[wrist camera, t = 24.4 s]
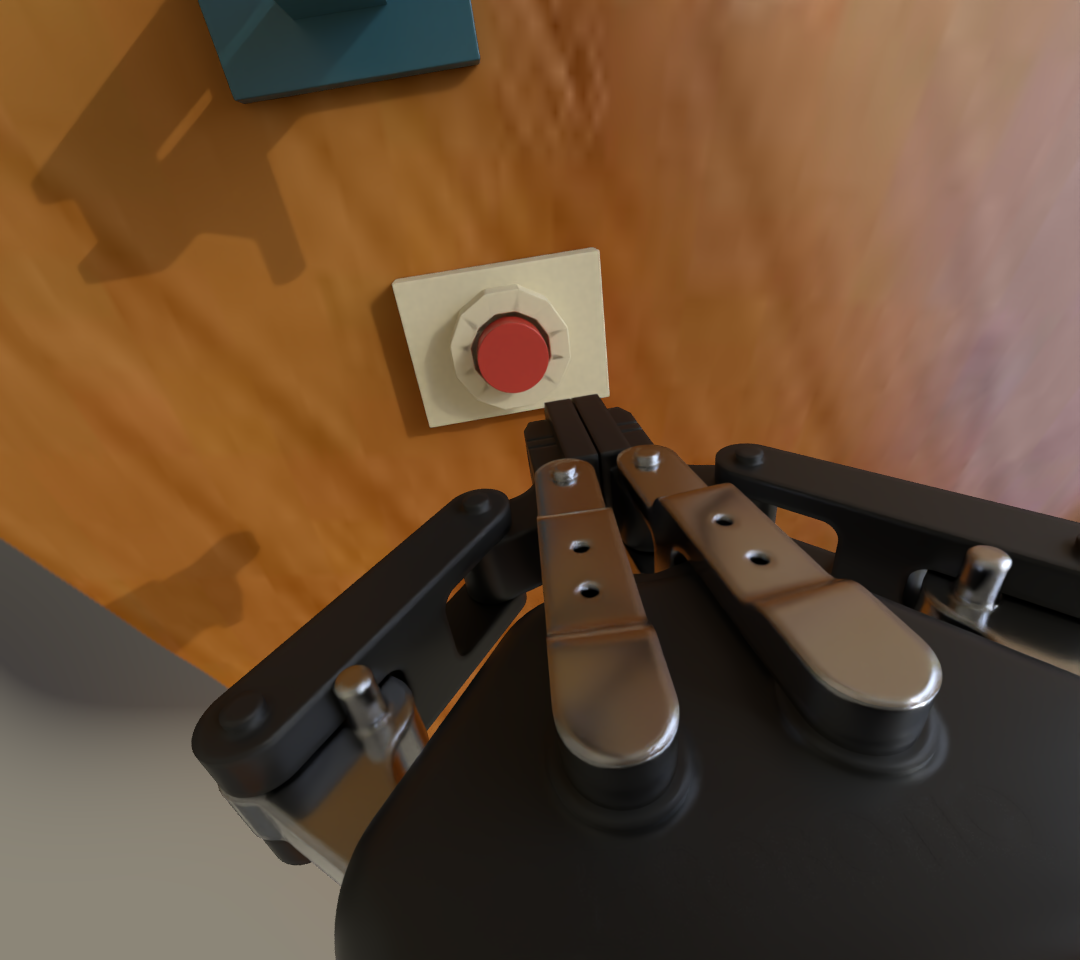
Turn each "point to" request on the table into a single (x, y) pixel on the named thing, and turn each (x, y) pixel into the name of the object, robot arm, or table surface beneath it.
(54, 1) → the table surface
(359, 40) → the bracket
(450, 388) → the button block
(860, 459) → the table surface
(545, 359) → the button
